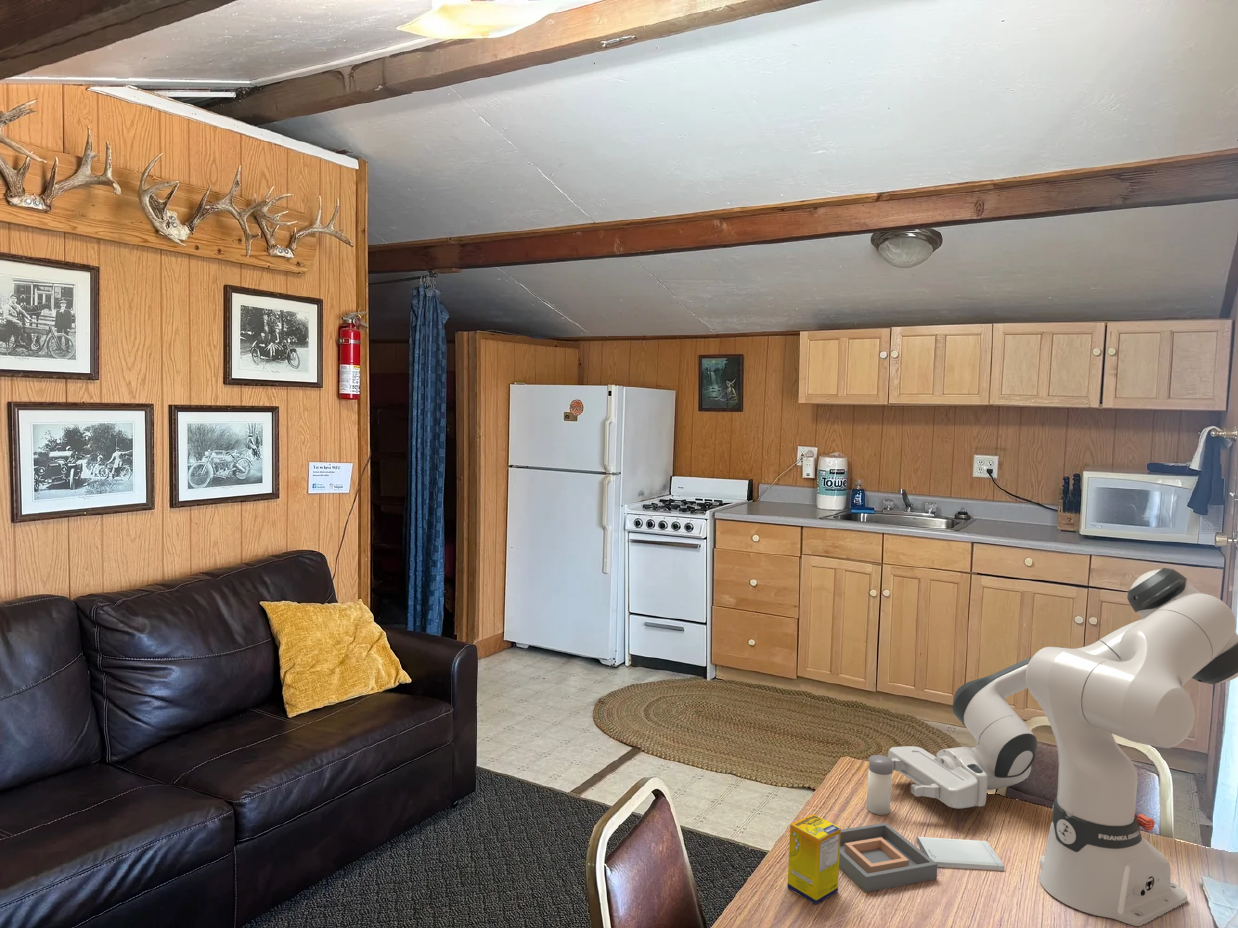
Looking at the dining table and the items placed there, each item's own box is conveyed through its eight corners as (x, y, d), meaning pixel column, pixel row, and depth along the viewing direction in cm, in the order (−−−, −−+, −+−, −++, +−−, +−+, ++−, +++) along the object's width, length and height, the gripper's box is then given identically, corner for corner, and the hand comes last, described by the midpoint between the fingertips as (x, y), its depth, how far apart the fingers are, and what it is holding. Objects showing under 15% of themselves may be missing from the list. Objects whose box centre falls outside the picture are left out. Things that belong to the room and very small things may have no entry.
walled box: (884, 836, 153) (885, 822, 153) (936, 878, 140) (937, 864, 140) (818, 847, 149) (819, 833, 148) (865, 892, 135) (866, 877, 135)
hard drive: (930, 860, 144) (1004, 864, 143) (916, 835, 152) (986, 839, 151) (930, 870, 144) (1004, 873, 143) (916, 844, 152) (985, 847, 151)
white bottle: (880, 802, 166) (883, 753, 165) (894, 813, 162) (897, 763, 161) (861, 805, 165) (864, 756, 164) (875, 816, 160) (878, 765, 160)
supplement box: (808, 875, 140) (812, 812, 139) (838, 892, 135) (842, 827, 134) (785, 887, 136) (789, 823, 135) (815, 905, 131) (819, 839, 131)
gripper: (922, 735, 178) (866, 742, 174) (993, 778, 159) (932, 787, 154) (920, 764, 179) (865, 771, 174) (991, 810, 159) (930, 820, 155)
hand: (897, 779), depth 164 cm, fingers open, 8 cm apart
